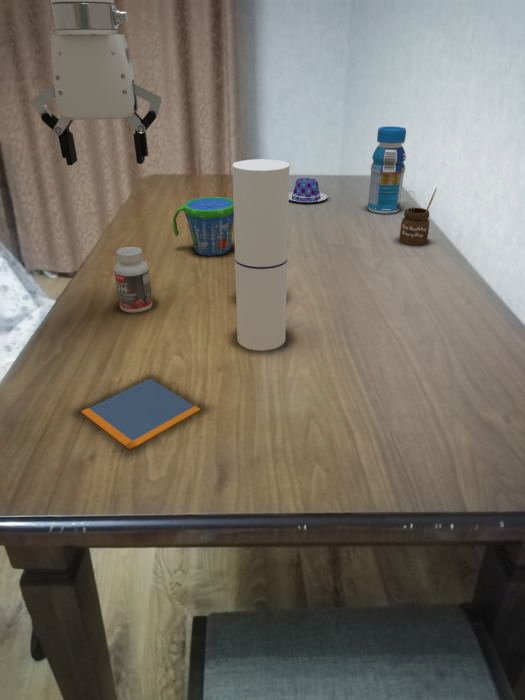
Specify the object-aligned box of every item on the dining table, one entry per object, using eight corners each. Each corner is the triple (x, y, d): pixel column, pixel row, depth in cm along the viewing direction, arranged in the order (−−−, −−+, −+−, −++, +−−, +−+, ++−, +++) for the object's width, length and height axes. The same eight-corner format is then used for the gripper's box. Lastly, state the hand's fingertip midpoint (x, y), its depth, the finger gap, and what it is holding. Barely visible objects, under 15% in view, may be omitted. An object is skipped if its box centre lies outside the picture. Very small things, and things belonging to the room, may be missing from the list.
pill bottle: (115, 313, 88) (106, 255, 83) (125, 299, 92) (117, 244, 87) (147, 314, 87) (141, 257, 82) (156, 300, 92) (150, 245, 87)
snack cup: (169, 258, 110) (164, 208, 105) (183, 241, 119) (179, 195, 114) (244, 262, 108) (243, 211, 103) (253, 245, 117) (252, 197, 112)
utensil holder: (400, 236, 121) (407, 182, 115) (429, 239, 120) (437, 184, 114) (397, 245, 117) (404, 188, 111) (426, 248, 115) (435, 191, 109)
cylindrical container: (230, 347, 78) (224, 168, 65) (246, 325, 84) (243, 157, 71) (278, 354, 76) (280, 172, 63) (290, 331, 82) (295, 160, 69)
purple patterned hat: (306, 207, 143) (307, 187, 141) (275, 198, 151) (275, 179, 148) (336, 199, 150) (337, 180, 148) (305, 191, 158) (305, 173, 155)
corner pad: (81, 413, 64) (81, 411, 64) (150, 380, 70) (149, 377, 70) (130, 452, 58) (130, 449, 58) (200, 411, 64) (200, 409, 64)
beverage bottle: (360, 209, 141) (367, 128, 131) (380, 204, 146) (388, 124, 136) (386, 216, 136) (396, 131, 126) (406, 210, 140) (417, 128, 130)
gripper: (158, 21, 71) (170, 156, 80) (25, 23, 71) (52, 159, 79) (151, 20, 65) (165, 167, 74) (5, 21, 64) (37, 169, 73)
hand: (106, 162), depth 76 cm, fingers open, 9 cm apart
